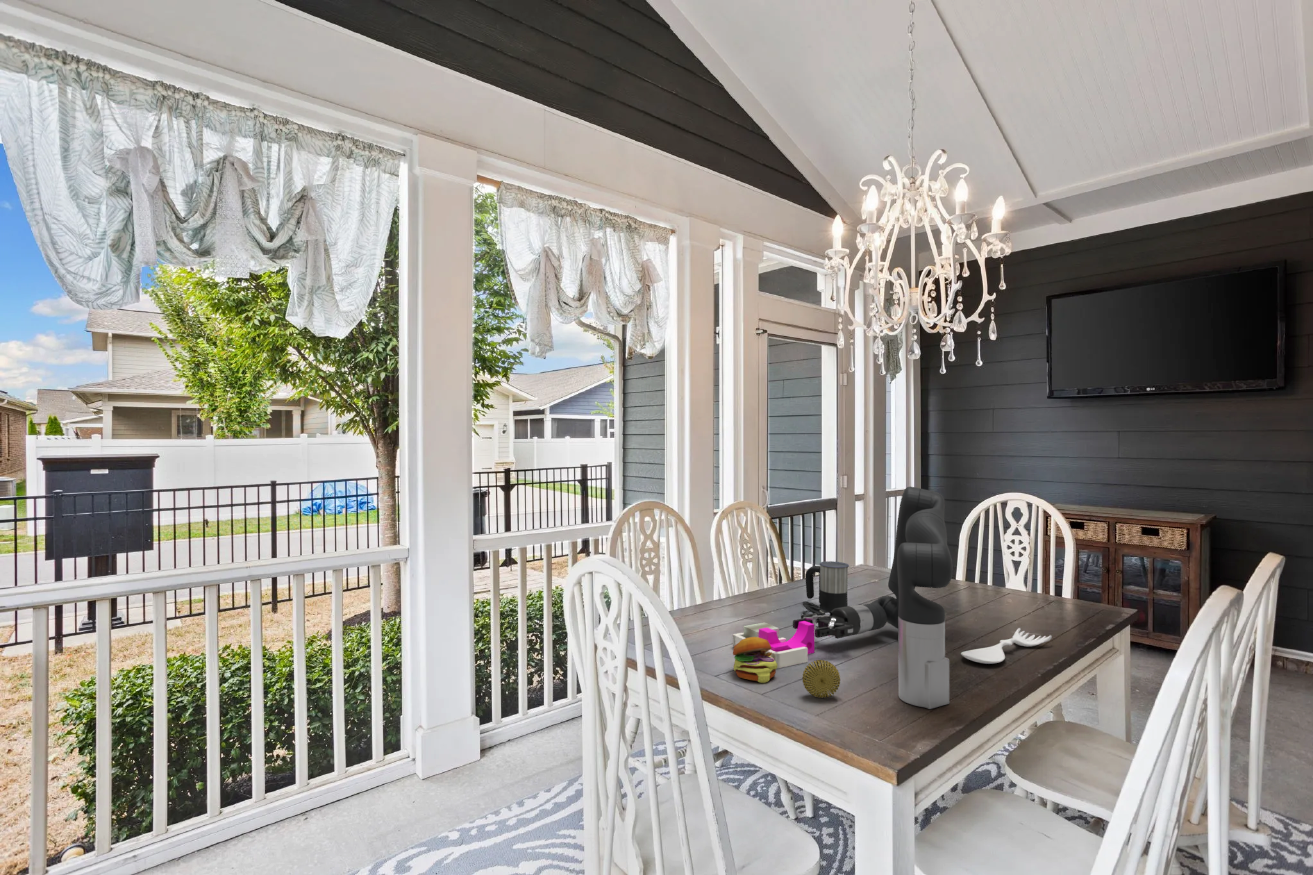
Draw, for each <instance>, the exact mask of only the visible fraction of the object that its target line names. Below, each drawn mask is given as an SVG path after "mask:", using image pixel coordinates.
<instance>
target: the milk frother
mask: <svg viewBox="0 0 1313 875" xmlns="http://www.w3.org/2000/svg"><path fill="white" fill-rule="evenodd" d="M818 564H819V565H813V566H810V567H809V568H808V569H807V570H806V572H805V589H806V590H805V591H806V598H807V599H809V600H810V599H813V598H814V597H815V585H814V584H815V581H814V574H815V573H818V575H819V576H818V577H819V578H818V603H819V605H817V604H816V603H813V602H810V601H803V602H802V606H803V608H805V610H807V611H809V612H810V613H811V614H812V613H820V616H823V615H826V613H831V612H832V610H833V609H835V608H841V607H847V606H849V605H848V604H849V603H848V583H849V581H848V577H849V575H848V574H849V572H848V570H849V567H850V565H849V563H846V562H840V561H833V560H832V561H831V560H830V561H826V560H825V561H821V562H819V563H818Z"/></svg>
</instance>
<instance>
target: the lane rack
mask: <svg viewBox="0 0 1313 875" xmlns="http://www.w3.org/2000/svg"><path fill="white" fill-rule="evenodd" d="M743 639H745V637H744V632H738V633H733V634H732V648H733V647H734V646H735V645H736V644H738V643H739V642H740V641H741V640H743ZM778 639H779V640H780V642H781V643H783V642H786V641H787V638H786V637H779V638H778ZM768 652H769V653H771V652H772V654H771V655H770V656H771V657H772V658H774V660H775V661H776V663H777V669H781V668H786V667H790V666H791V667H792V666H795V665H800V664H805V663H808V662H809V658H808V655H809V654H808V648H807V647H800V648H795V649H790V650H785V651H780V652H775V651H773V650H769V651H767V652H766V653H768ZM745 654H746V653H745ZM777 669H776V670H777Z"/></svg>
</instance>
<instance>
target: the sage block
mask: <svg viewBox="0 0 1313 875" xmlns="http://www.w3.org/2000/svg"><path fill="white" fill-rule="evenodd" d="M761 628H770V629H772V630H775V631H777V636H778V638H780V628H779V627H777V626H774V625H772V624H770V623H767V622H759V623H755V624H749V625H743V633H744V637H745V638H749V637H759V629H761Z"/></svg>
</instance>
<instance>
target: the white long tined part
mask: <svg viewBox="0 0 1313 875" xmlns="http://www.w3.org/2000/svg"><path fill="white" fill-rule="evenodd" d="M1025 632H1026V631H1025V630H1022V631H1021V627H1018V628H1017V629H1016V631H1015V632H1014V634H1013V635H1012V637H1011V638H1009V639H1008V638H1007V639H1001V640H999V643H997V644H994V645H991V646H988V647H981V648H976V649H970V650H966V651H961V653H960V655H961V656H962V657H963V658H965V659H967V660H968V661H969V660H970V661H972V662H975V663H979V664H986V665H987V664H988V665H990V664H992V665H993V664H997V663H1001V662H1003V661H1004V660H1005V658H1006V655H1005V652H1004V650H1003V647H1005V646H1012V645H1013V644H1016V645H1018V646H1021V647H1035V646H1038V645H1042V644H1043V643H1044V644H1045V643H1046V642H1049V641H1050V640H1052V638H1053V637H1052V635H1049V636H1046V635H1044V636H1042V635H1039V636H1038V637H1036V635H1035V634H1032V635H1030V632H1026V633H1025ZM1029 635H1030V636H1029ZM1035 637H1036V638H1035Z"/></svg>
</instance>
